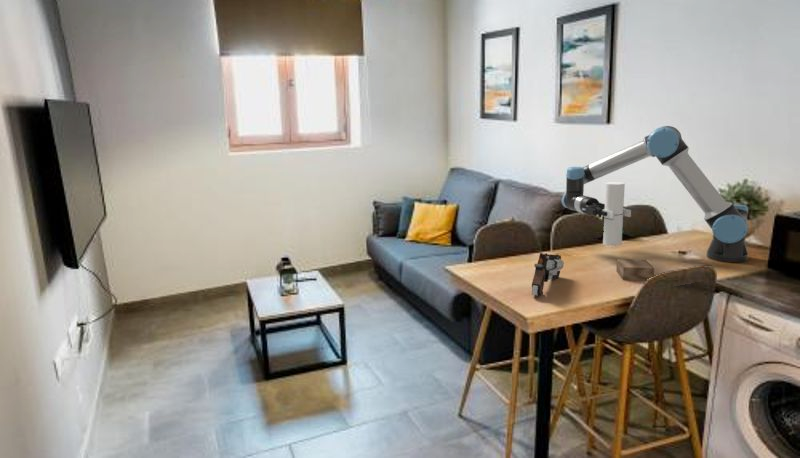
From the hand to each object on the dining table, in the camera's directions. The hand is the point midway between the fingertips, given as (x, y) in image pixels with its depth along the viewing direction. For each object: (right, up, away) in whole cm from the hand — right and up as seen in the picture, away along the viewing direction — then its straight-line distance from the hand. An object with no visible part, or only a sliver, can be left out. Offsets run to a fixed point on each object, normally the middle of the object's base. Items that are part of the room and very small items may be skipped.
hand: (621, 214), depth 219 cm
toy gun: (-33, -28, -12) cm, 45 cm away
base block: (+3, -24, -4) cm, 25 cm away
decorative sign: (+17, -10, +58) cm, 61 cm away
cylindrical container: (-1, -12, +8) cm, 14 cm away
